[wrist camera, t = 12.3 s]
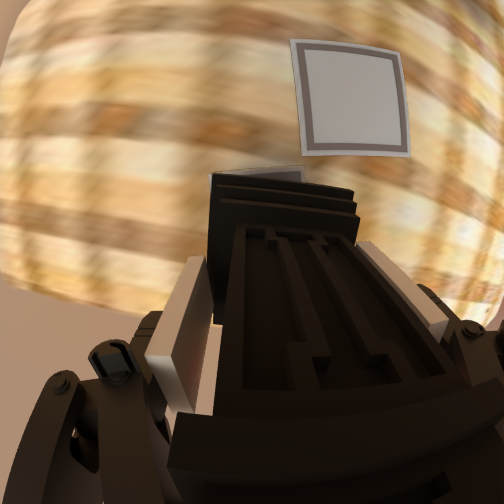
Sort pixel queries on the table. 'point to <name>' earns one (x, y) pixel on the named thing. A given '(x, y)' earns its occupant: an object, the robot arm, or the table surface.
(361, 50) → the print sheet
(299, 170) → the ink pad
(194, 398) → the robot arm
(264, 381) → the chess piece
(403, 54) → the table surface
